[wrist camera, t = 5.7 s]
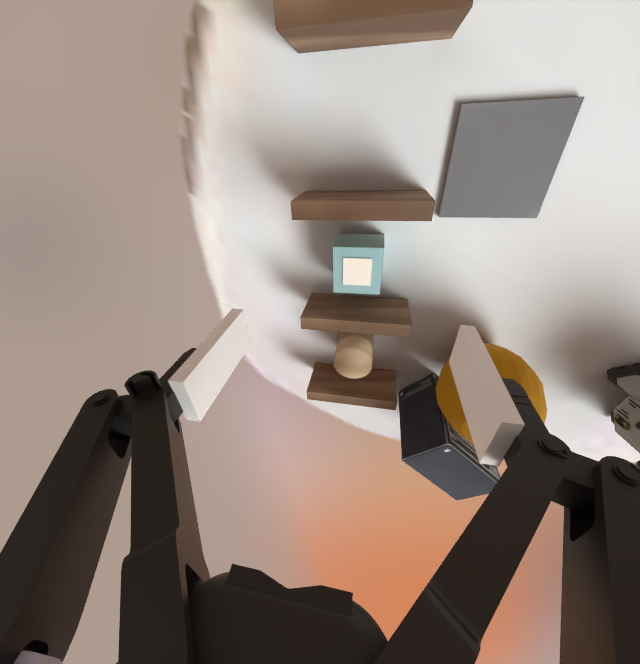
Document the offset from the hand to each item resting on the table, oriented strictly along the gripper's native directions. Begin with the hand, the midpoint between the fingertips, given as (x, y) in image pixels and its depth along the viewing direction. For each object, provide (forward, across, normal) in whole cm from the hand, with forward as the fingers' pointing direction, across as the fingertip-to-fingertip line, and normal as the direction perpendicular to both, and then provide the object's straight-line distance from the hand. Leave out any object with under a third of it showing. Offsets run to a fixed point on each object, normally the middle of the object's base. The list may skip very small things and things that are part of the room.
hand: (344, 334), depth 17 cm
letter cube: (+15, 0, 0) cm, 15 cm away
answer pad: (+15, +11, +8) cm, 20 cm away
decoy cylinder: (+15, 0, -11) cm, 18 cm away
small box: (+15, +12, -21) cm, 28 cm away
